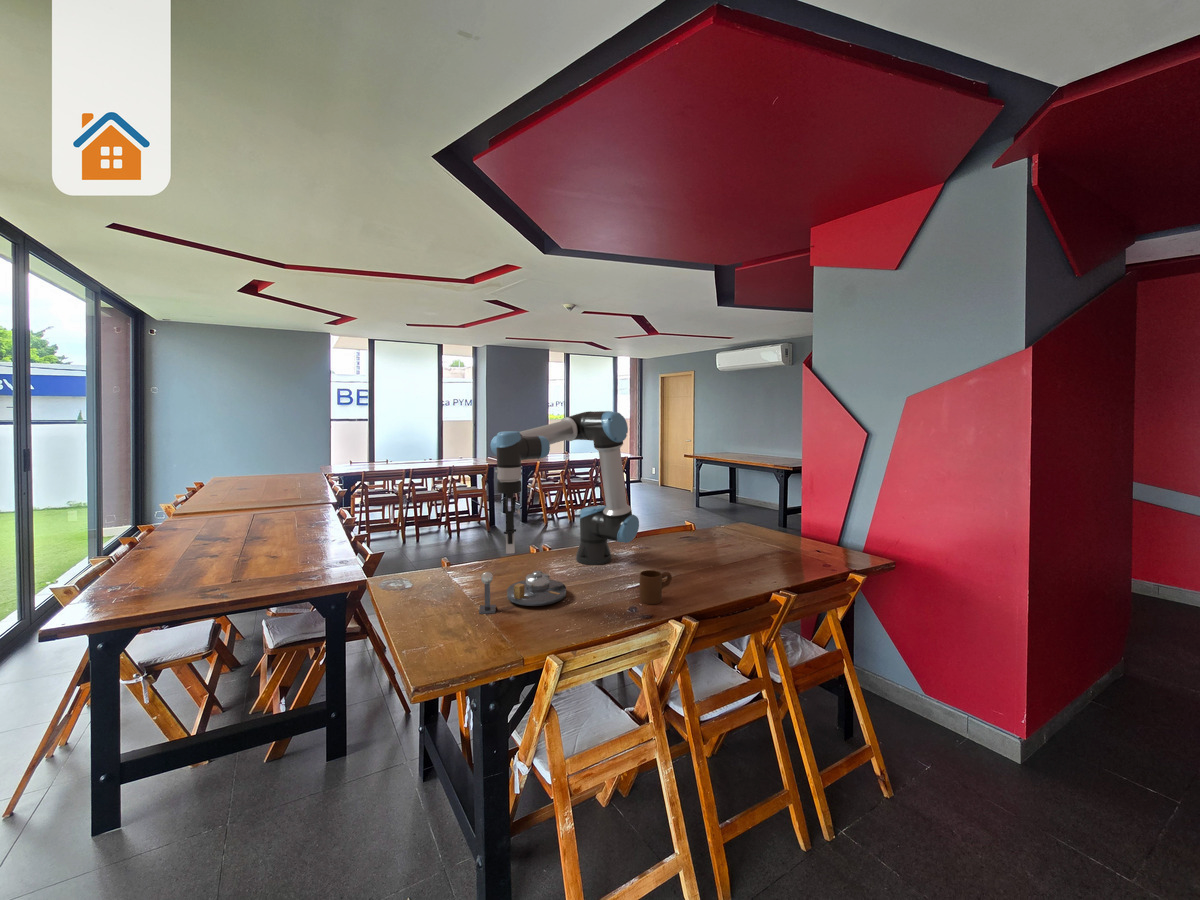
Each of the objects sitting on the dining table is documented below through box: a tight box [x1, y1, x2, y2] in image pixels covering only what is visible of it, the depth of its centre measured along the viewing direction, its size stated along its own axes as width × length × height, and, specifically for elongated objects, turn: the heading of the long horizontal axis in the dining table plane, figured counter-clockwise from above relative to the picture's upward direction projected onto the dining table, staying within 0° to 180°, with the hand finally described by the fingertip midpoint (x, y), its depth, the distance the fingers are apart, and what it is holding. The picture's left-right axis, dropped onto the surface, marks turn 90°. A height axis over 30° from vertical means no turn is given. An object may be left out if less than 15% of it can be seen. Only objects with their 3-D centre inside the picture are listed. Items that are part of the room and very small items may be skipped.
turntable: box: [506, 578, 567, 607], centre depth 168 cm, size 20×20×6 cm
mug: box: [638, 569, 673, 605], centre depth 166 cm, size 12×8×9 cm, turn 114°
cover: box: [525, 570, 550, 592], centre depth 168 cm, size 8×8×6 cm
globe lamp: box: [478, 571, 497, 615], centre depth 157 cm, size 5×5×13 cm
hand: (510, 552), depth 158 cm, fingers closed
